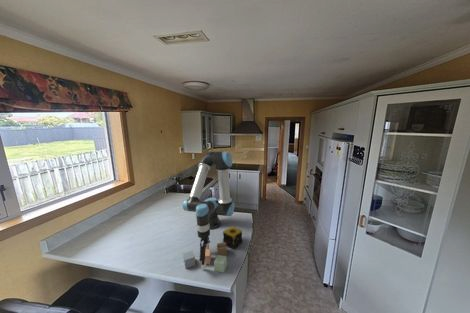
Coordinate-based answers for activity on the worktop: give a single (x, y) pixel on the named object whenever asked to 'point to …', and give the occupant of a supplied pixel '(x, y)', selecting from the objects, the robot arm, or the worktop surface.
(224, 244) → the walnut cube
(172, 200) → the worktop surface
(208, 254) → the terracotta cube
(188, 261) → the slate cube
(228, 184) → the robot arm
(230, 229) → the candle
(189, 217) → the worktop surface
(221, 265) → the sage cube
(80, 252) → the worktop surface
